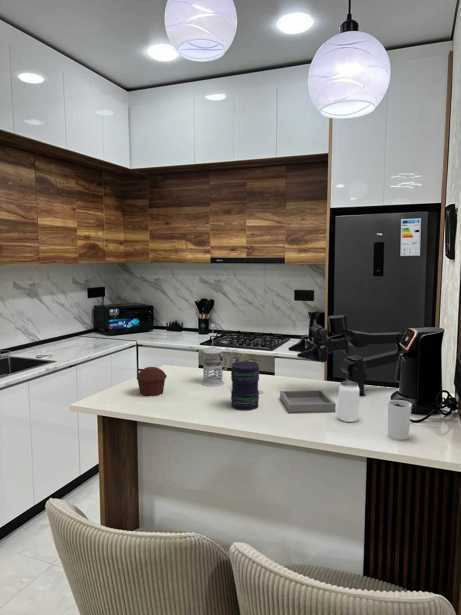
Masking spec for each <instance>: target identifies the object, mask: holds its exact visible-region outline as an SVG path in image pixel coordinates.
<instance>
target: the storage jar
mask: <svg viewBox="0 0 461 615" xmlns="http://www.w3.org/2000/svg"><path fill="white" fill-rule="evenodd" d="M230 366H231V372H230V374H231V376H230V380H231V391H230V399H231V408H232V409H234V410H237V411H253V410H257V409H258V408H259V400H260V396H259V395H260V393H259V391H260V390H259V380H260V369H259V367H260V365H259V363H258V362H256V363H254V362H243V361H236V362H233V363H231V365H230ZM258 390H259V391H258Z"/></svg>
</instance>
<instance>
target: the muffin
mask: <svg viewBox="0 0 461 615" xmlns="http://www.w3.org/2000/svg"><path fill="white" fill-rule="evenodd" d="M166 379H167V375H166V372H165V371H164V370H163V369H161V368H159V367H156V366H147V367H144V368H143V369H141V370H140V371H139V372H138V374H137V376H136V380H137V383H138V390H139V395H140V394H142V395H141V396H143V397H148V396H152V397H159V396H161V395H163V394H164V389H165V383H166ZM160 394H161V395H160ZM158 395H159V396H158Z"/></svg>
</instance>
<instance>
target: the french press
mask: <svg viewBox="0 0 461 615" xmlns="http://www.w3.org/2000/svg"><path fill="white" fill-rule="evenodd" d="M210 328H212V329H211V330H212V332H211V333H212V345H211V347H207V348H204V349H203V351H202V352H203V354H206V355H211V356H212V358H206V359H203V362H204V363H203V371H202V372H203V381H201V383H200V385H202V386H204V387H209V386H210V387H212V388H213V387H215V386H216V387H221V386H223V384H224V385H225V381H223V372H225V371H227V370H228V368H229V364H230V362H229V361H230V360H229V358H228V356H227V355H226V354H225V353H223V350H222V348H220V347H216V346H214V328H215V324H214V323H211V324H210ZM218 354H220V357H221V358H223V356H224V357H225V358H226V362H227V363H226V366H225V367H224V368H223V364H222V359H220V358H214V355H218ZM216 387H215V388H216Z"/></svg>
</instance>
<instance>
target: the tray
mask: <svg viewBox="0 0 461 615" xmlns="http://www.w3.org/2000/svg"><path fill="white" fill-rule="evenodd" d="M279 399H280V402H282V404H283V406H284V408H285V409H286V411H287V413H288V414H311V413H312V414H319V413H322V414H323V413H336V410H337V409H336V404H337V403H336V402H335V401H334V400H332V398H331V397H330V396H329V395H328V394H327V393H326V392H325V391H324V390H323V389H316V390H315V389H310V390H307V389H306V390H305V389H302V390H279Z"/></svg>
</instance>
